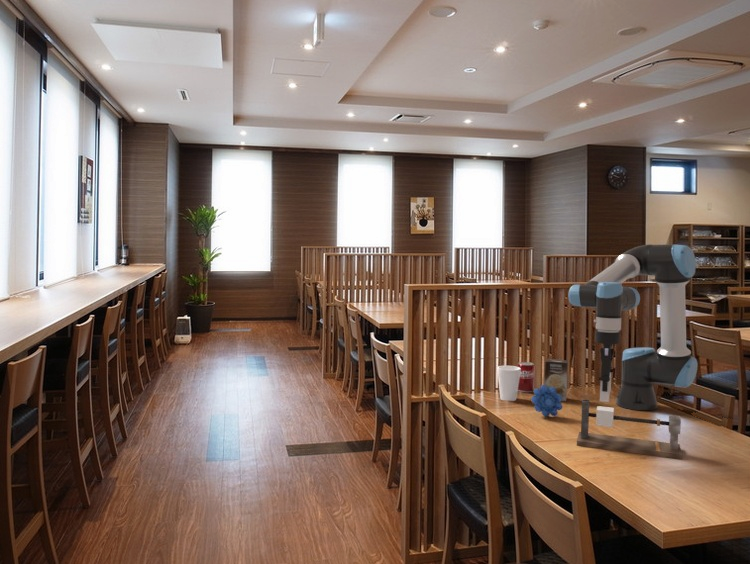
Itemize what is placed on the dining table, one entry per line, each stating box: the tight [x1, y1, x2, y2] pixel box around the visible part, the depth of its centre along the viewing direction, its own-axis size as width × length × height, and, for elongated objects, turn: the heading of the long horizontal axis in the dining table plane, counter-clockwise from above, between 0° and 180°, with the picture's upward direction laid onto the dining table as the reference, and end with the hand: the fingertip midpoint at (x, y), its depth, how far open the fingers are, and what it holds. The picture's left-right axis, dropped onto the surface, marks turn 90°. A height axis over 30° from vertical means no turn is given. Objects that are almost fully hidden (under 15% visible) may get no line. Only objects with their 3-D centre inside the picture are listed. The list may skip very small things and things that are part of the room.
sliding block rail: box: [576, 398, 683, 460], centre depth 190 cm, size 30×10×14 cm, turn 67°
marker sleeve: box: [595, 405, 615, 428], centre depth 193 cm, size 5×5×5 cm
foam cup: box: [496, 365, 521, 402], centre depth 248 cm, size 10×9×13 cm
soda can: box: [516, 361, 535, 393], centre depth 262 cm, size 7×7×12 cm
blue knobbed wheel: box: [530, 384, 563, 418], centre depth 222 cm, size 12×7×12 cm, turn 91°
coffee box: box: [543, 358, 569, 402], centre depth 249 cm, size 9×6×16 cm
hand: (605, 396), depth 192 cm, fingers open, 13 cm apart
